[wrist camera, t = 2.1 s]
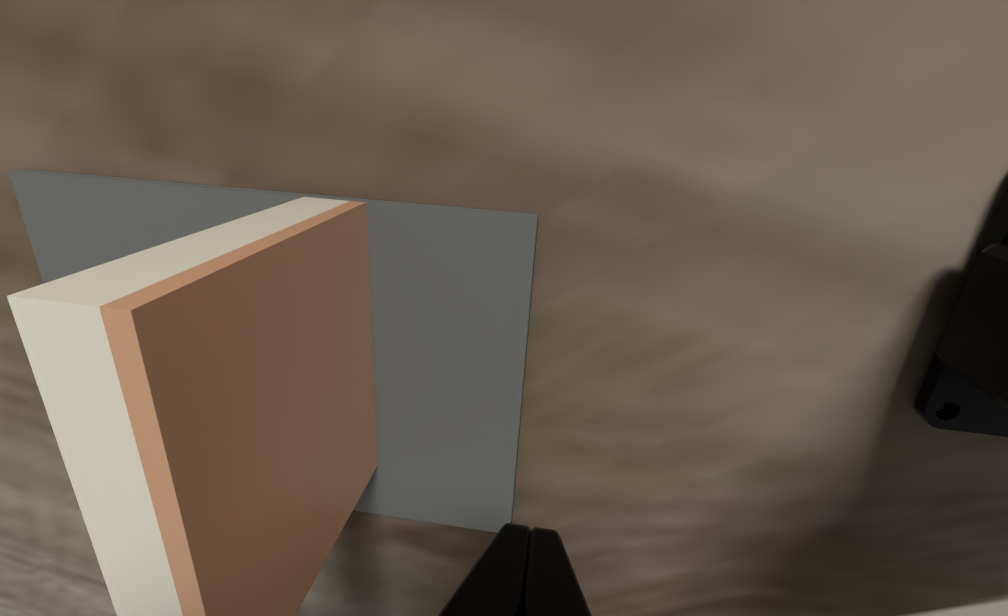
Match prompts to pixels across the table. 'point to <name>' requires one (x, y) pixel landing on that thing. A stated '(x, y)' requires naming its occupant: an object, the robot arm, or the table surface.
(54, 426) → the tile
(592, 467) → the table surface
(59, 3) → the table surface
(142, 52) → the table surface
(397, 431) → the mat
